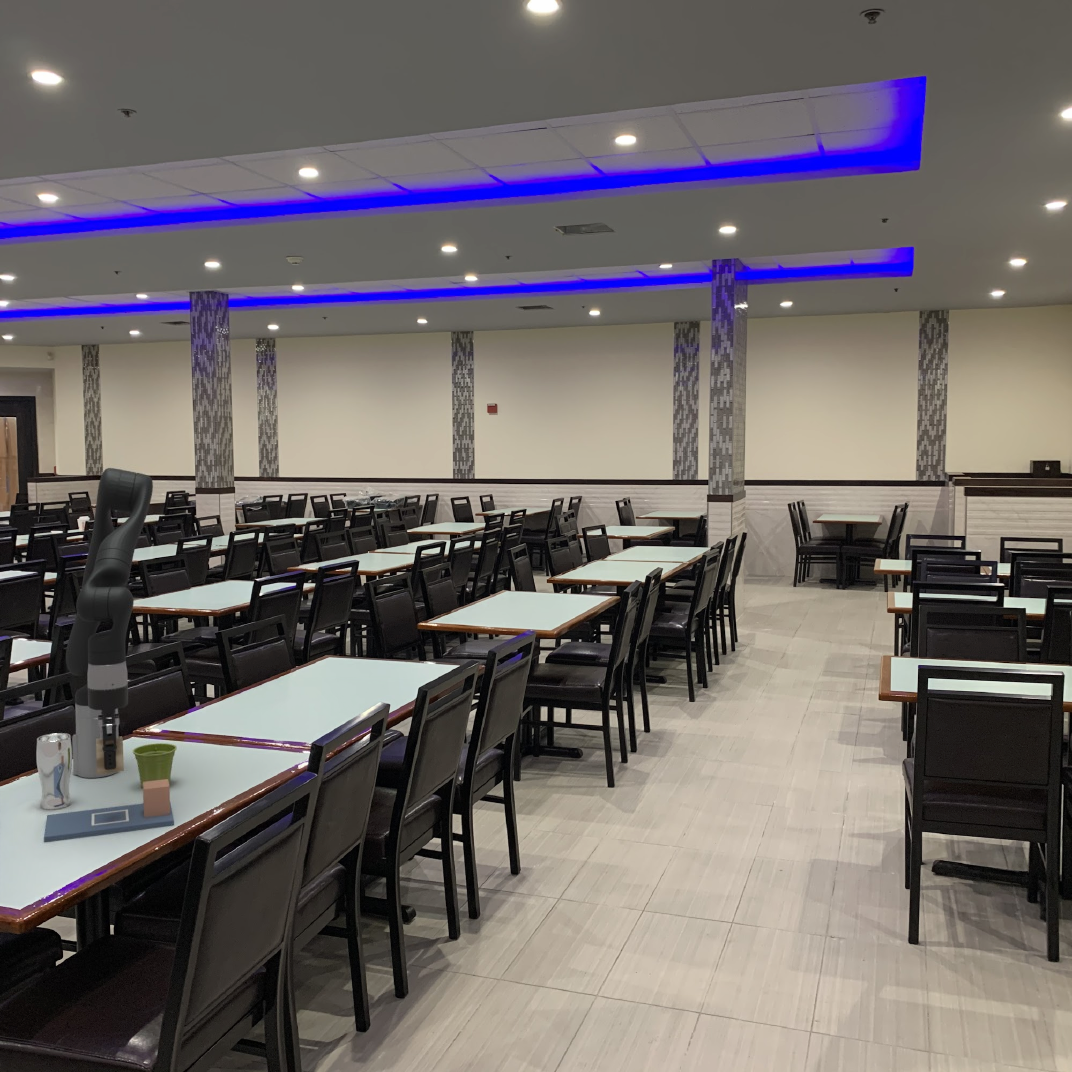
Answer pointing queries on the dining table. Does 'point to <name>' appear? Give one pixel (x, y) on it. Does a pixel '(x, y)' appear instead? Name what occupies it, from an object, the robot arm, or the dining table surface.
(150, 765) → the plant pot
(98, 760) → the maple block
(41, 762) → the beer glass
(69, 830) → the board
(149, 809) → the terracotta block
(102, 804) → the dining table surface
